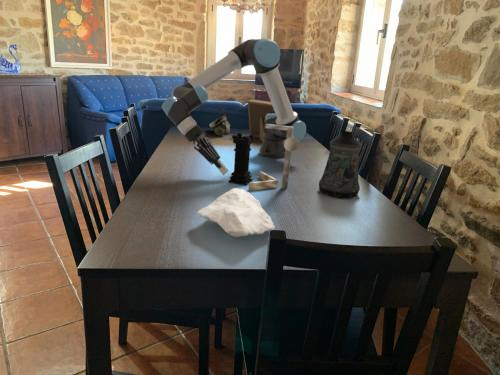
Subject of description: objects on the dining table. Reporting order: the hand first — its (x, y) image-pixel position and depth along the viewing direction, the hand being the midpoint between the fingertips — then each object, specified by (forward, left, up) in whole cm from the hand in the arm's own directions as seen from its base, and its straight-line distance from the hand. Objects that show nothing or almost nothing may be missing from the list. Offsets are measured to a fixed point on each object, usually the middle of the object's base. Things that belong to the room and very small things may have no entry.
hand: (226, 173), depth 157 cm
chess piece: (-6, +3, -3) cm, 7 cm away
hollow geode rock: (-22, -102, -3) cm, 104 cm away
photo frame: (-47, -86, -3) cm, 98 cm away
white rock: (+9, +45, -3) cm, 46 cm away
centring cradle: (-15, +8, -3) cm, 17 cm away
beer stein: (-42, +20, -3) cm, 47 cm away
